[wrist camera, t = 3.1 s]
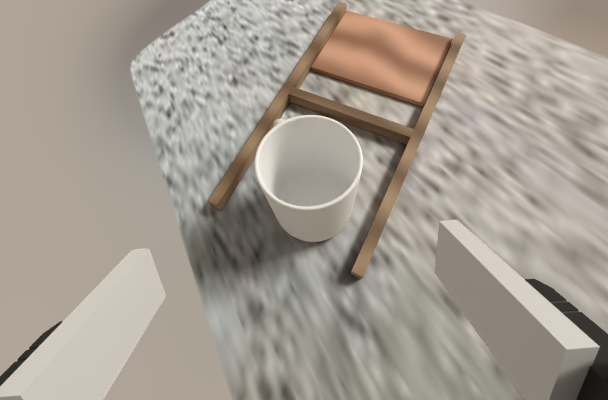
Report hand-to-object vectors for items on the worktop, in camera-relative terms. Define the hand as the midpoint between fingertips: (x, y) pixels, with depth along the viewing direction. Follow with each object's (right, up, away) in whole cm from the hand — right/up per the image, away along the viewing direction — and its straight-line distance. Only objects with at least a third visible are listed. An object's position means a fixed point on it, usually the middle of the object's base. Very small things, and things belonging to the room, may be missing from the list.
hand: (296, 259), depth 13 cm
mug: (+1, +3, +20) cm, 21 cm away
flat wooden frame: (+6, +13, +24) cm, 28 cm away
